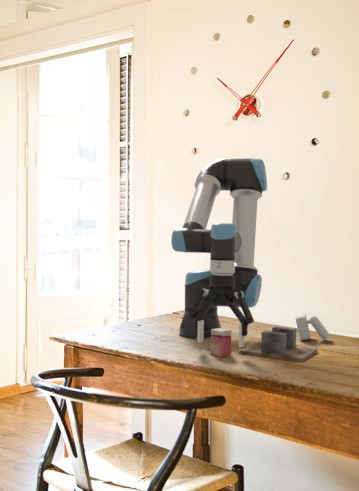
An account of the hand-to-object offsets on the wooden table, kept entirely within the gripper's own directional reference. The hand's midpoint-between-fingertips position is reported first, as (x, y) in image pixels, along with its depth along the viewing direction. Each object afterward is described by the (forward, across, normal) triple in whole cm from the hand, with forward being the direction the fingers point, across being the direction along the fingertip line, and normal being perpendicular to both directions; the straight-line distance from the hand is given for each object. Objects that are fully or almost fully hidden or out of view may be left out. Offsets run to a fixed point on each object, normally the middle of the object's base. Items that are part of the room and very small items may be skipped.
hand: (220, 344), depth 193 cm
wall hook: (+3, +17, +40) cm, 44 cm away
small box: (+4, 0, 0) cm, 4 cm away
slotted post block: (+3, +14, +14) cm, 20 cm away
